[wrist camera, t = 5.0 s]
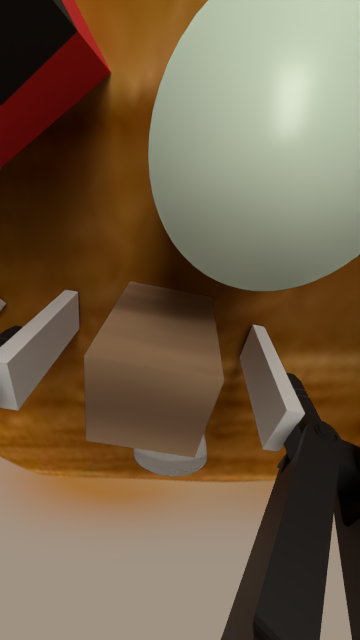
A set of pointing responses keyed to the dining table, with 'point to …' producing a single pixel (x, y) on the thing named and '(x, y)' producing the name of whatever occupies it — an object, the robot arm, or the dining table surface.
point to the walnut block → (153, 371)
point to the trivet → (2, 304)
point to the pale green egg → (261, 141)
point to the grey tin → (172, 461)
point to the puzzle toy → (42, 67)
